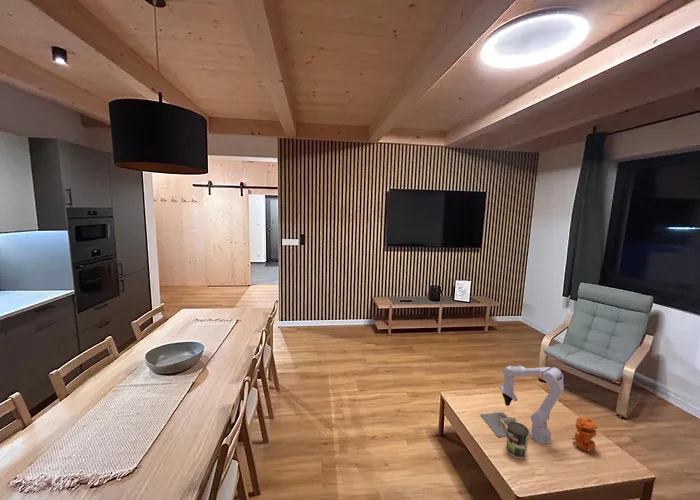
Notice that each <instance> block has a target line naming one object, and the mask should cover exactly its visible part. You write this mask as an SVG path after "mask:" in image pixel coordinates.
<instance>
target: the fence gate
mask: <svg viewBox="0 0 700 500" xmlns="http://www.w3.org/2000/svg"><path fill="white" fill-rule="evenodd" d="M502 420H503V422H504V423H505V424H506V425H508V423H510V422H517V418H516V417H510V418H509V417H508V418H504V419H502Z"/></svg>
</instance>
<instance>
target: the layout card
mask: <svg viewBox="0 0 700 500" xmlns="http://www.w3.org/2000/svg"><path fill="white" fill-rule="evenodd" d="M480 417H481V418H482V419H483V421H484V422H485V423H486V424H487V426H488V427H489V428H490V429H491V431H492V432H493V433H494V434H495V436H496V437H497V438H507V433H506V432H505V431H504V430H503V428H502V427H501V426H500V425H499V417H502V419H504V418H509V417H508V416H507V415H506V413H504V412H495V413H494V412H492V413H491V412H490V413H480ZM507 426H508V425H507Z"/></svg>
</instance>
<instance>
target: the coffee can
mask: <svg viewBox="0 0 700 500" xmlns="http://www.w3.org/2000/svg"><path fill="white" fill-rule="evenodd" d="M529 432H530V430H529V428H528V427H527V426H525V425H524V424H523V423H520V422H517V421H516V422H510V423H508V431H507V437H506V446H505V449H506V452H507V453H508V454H509V455H511V456H512V457H513V458H516V459H521V460H522V459H526V458H527V456H528V443H529V436H530V434H529Z"/></svg>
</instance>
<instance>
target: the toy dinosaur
mask: <svg viewBox="0 0 700 500" xmlns="http://www.w3.org/2000/svg"><path fill="white" fill-rule="evenodd" d="M593 420H594V419H593V418H591V419H590V418H589V417H588V416H587V417H586V416H585V417H579V416H578V418H576V421H575V428H576V431H577V432H575V433H574V437H572V441H573V440H574V441H575V442H576V447H578V448H580V450H584V451H586V452H590V451H591V452H593V451H594V450H593V449H595V450H596V443H595V441H594V440H592V439H593V438H594V437H596V436H597V434H598V433H597V431H596V430H598V426H597V424H596V423H595V422H594V421H593Z"/></svg>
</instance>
